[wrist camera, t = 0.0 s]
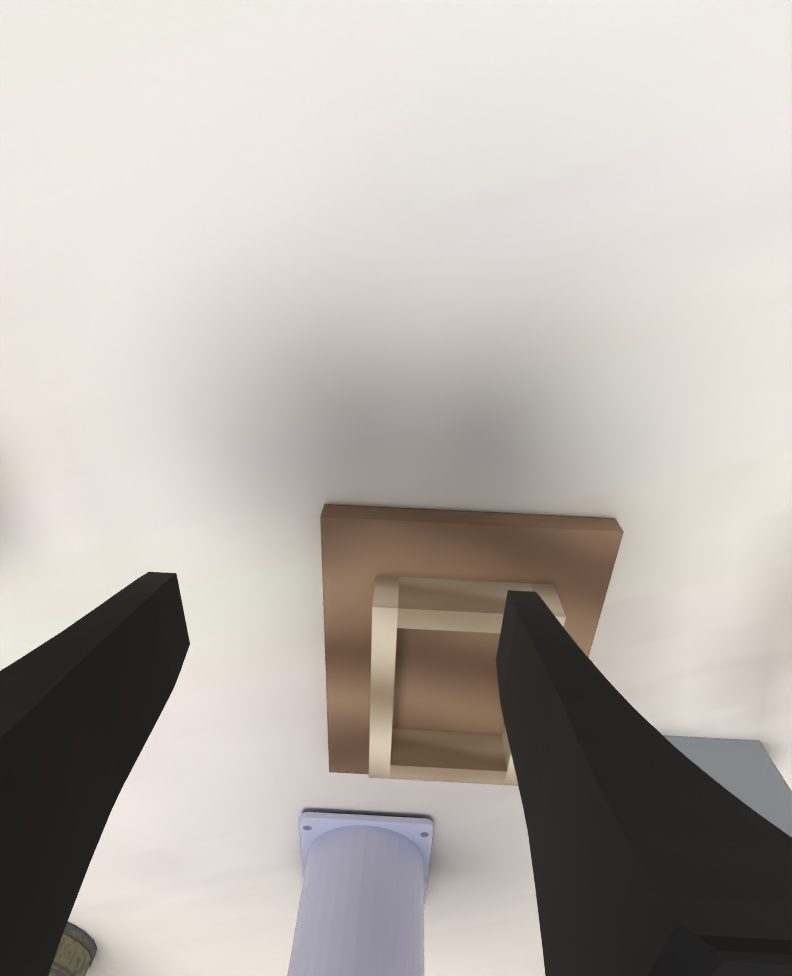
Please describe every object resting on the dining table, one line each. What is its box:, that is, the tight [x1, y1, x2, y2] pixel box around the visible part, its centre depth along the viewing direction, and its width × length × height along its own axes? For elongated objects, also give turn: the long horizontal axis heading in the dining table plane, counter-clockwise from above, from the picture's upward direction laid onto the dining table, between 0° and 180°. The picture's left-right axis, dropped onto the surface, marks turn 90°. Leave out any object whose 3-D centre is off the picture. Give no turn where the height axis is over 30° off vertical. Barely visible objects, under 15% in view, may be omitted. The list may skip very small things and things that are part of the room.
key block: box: [663, 735, 792, 837], centre depth 27 cm, size 4×7×5 cm, turn 88°
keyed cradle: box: [321, 505, 623, 786], centre depth 24 cm, size 16×12×3 cm
